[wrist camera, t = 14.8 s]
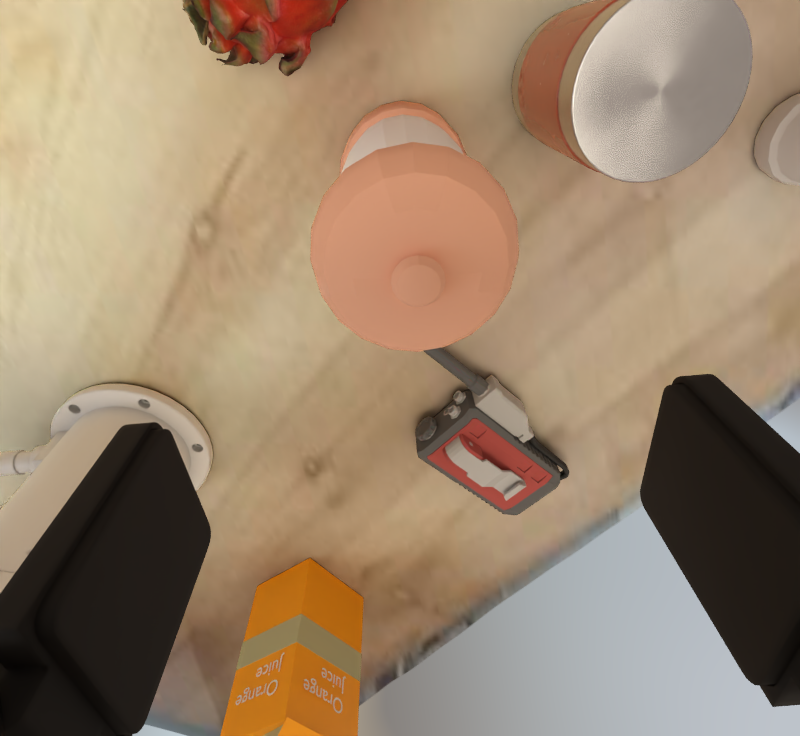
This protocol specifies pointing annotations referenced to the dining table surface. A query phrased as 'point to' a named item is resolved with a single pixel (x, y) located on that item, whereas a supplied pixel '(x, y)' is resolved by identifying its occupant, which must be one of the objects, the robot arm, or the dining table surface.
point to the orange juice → (299, 658)
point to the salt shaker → (412, 234)
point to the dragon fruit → (261, 28)
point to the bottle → (780, 143)
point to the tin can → (634, 83)
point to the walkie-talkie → (488, 443)
